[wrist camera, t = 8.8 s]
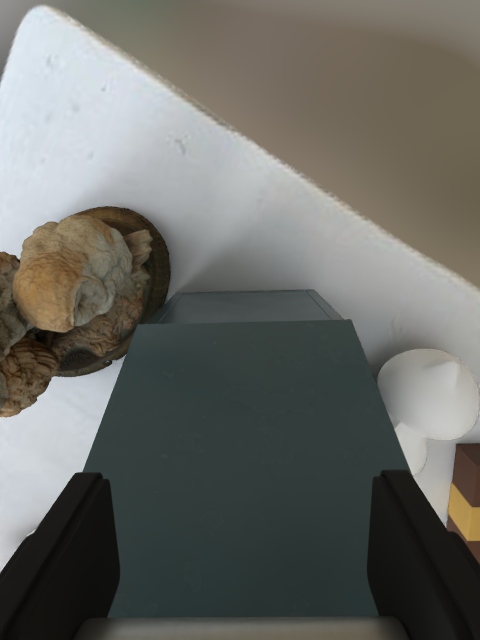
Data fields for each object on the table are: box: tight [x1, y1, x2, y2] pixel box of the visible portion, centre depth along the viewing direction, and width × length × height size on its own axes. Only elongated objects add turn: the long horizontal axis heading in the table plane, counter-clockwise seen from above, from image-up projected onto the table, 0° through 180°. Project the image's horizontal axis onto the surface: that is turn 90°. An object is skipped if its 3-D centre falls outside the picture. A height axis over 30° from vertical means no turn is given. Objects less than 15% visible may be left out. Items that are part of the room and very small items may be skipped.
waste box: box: [145, 290, 344, 324], centre depth 30 cm, size 18×12×12 cm
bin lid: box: [72, 319, 413, 640], centre depth 13 cm, size 18×12×5 cm
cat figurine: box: [377, 348, 480, 476], centre depth 33 cm, size 9×11×12 cm
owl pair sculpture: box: [0, 206, 170, 417], centre depth 26 cm, size 18×12×17 cm, turn 140°
